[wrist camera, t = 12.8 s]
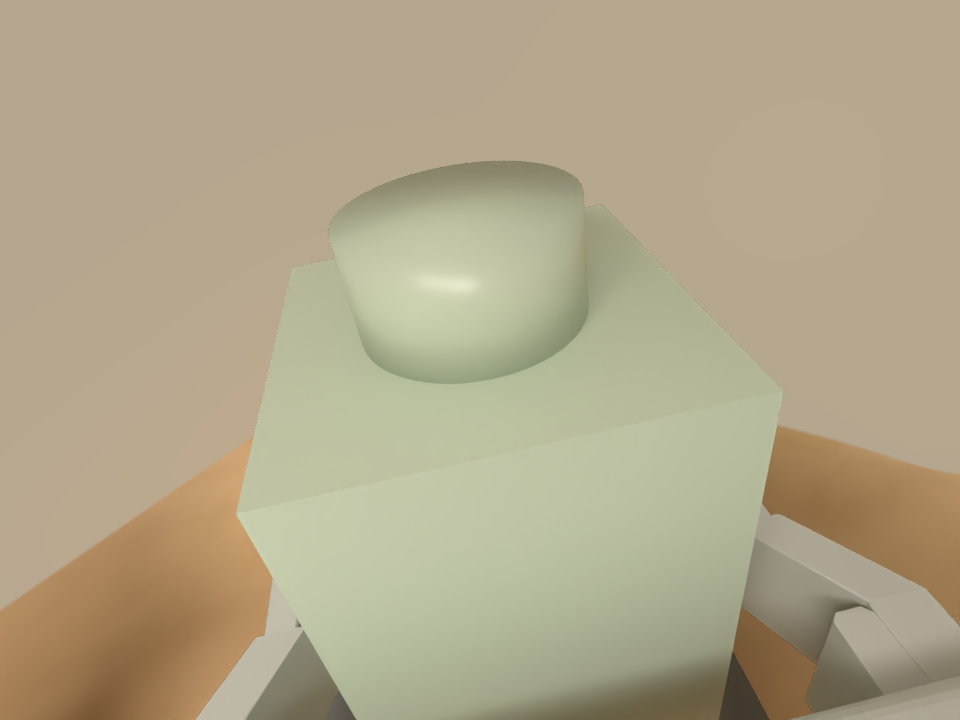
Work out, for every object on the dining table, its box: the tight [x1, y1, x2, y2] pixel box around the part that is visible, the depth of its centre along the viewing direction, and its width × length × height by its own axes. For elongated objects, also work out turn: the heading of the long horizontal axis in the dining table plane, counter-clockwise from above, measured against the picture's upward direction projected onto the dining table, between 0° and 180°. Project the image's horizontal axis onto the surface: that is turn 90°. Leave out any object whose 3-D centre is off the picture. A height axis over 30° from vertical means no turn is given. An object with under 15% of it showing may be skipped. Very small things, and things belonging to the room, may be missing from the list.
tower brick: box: [236, 161, 784, 720], centre depth 10 cm, size 5×5×12 cm
